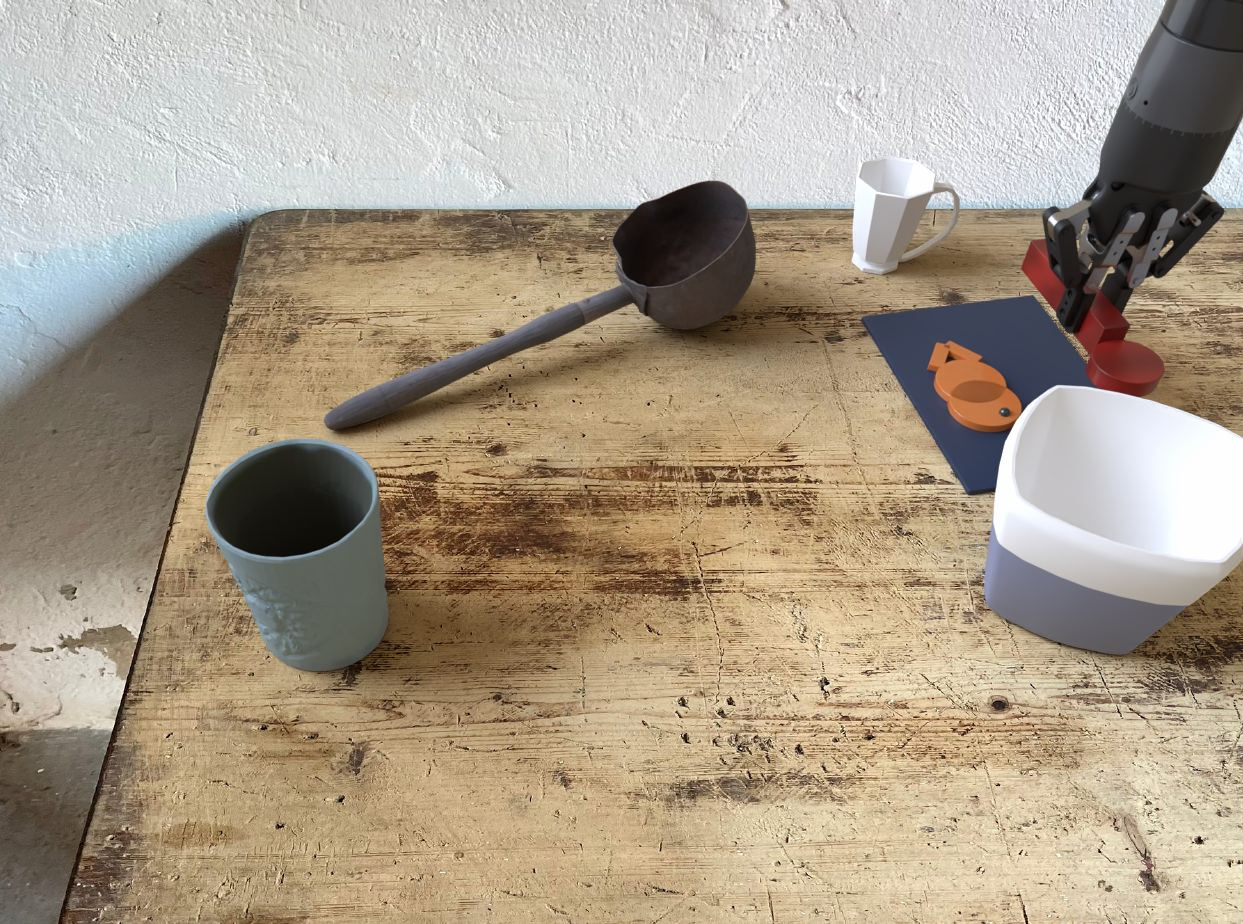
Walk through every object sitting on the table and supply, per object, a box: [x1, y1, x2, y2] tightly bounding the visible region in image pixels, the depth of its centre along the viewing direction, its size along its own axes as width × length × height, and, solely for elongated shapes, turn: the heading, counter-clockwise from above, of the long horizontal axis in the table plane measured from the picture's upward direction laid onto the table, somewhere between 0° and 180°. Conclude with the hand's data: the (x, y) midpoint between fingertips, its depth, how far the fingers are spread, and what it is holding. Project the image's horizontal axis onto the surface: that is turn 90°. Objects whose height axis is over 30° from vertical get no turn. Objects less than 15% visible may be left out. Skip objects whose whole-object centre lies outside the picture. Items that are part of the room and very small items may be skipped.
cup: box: [851, 155, 961, 276], centre depth 99 cm, size 7×10×8 cm
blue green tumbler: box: [205, 438, 390, 672], centre depth 71 cm, size 10×10×12 cm
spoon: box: [1020, 238, 1166, 398], centre depth 86 cm, size 17×5×3 cm, turn 12°
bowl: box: [983, 385, 1243, 655], centre depth 74 cm, size 15×15×11 cm
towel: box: [860, 294, 1099, 496], centre depth 91 cm, size 16×22×1 cm
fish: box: [927, 341, 1022, 432], centre depth 90 cm, size 11×6×1 cm, turn 12°
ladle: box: [323, 180, 757, 431], centre depth 92 cm, size 12×38×10 cm, turn 119°
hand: (1084, 324), depth 87 cm, fingers closed on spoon, 2 cm apart
